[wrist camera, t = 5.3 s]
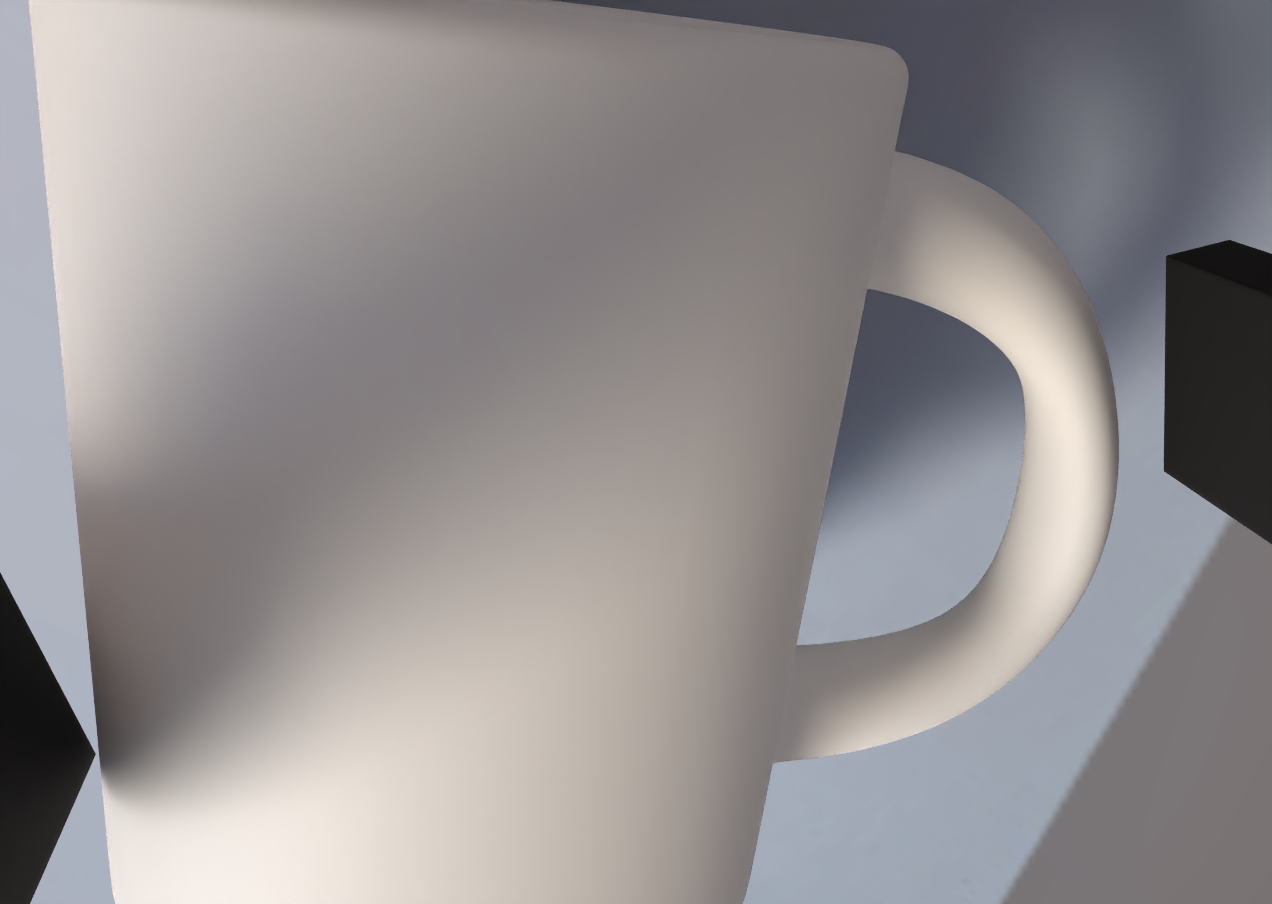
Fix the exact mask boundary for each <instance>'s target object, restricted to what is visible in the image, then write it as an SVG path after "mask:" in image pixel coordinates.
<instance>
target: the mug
mask: <svg viewBox="0 0 1272 904" xmlns="http://www.w3.org/2000/svg"><path fill="white" fill-rule="evenodd" d="M29 9H30V20H31V31H32V41H33V52H34V63H35V73H36V84H37V95H38V105H39V116H40V127H41V137H42V148H43V159H44V170H45V180H46V191H47V202H48V212H49V223H50V234H51V244H52V255H53V266H54V276H55V287H56V298H57V308H58V319H59V330H60V341H61V351H62V362H63V373H64V383H65V394H66V405H67V415H68V426H69V437H70V447H71V458H72V469H73V479H74V490H75V501H76V512H77V522H78V533H79V544H80V554H81V565H82V576H83V586H84V597H85V608H86V618H87V629H88V640H89V650H90V661H91V672H92V682H93V693H94V704H95V715H96V725H97V736H98V747H99V757H100V768H101V779H102V789H103V800H104V811H105V821H106V832H107V843H108V853H109V864H110V874H111V884H112V890H113V896H114V899H115V903H116V904H742V903H743V901H744V898H745V894H746V891H747V887H748V883H749V879H750V875H751V870H752V865H753V860H754V855H755V850H756V845H757V840H758V835H759V830H760V825H761V820H762V815H763V810H764V805H765V800H766V795H767V790H768V785H769V780H770V775H771V770H772V765H773V763H776V762H783V761H792V760H801V759H811V758H819V757H825V756H830V755H836V754H842V753H848V752H854V751H859V750H863V749H867V748H871V747H875V746H878V745H882V744H886V743H890V742H894V741H897V740H900V739H903V738H906V737H909V736H912V735H915V734H917V733H920V732H923V731H925V730H928V729H930V728H933V727H935V726H937V725H939V724H942V723H944V722H946V721H948V720H950V719H952V718H954V717H956V716H958V715H960V714H961V713H963V712H965V711H967V710H969V709H970V708H972V707H974V706H975V705H977V704H978V703H980V702H982V701H983V700H985V699H986V698H988V697H989V696H991V695H992V694H993V693H995V692H996V691H998V690H999V689H1000V688H1002V687H1003V686H1004V685H1005V684H1007V683H1008V682H1009V681H1010V680H1012V679H1013V678H1014V677H1015V676H1016V675H1018V674H1019V673H1020V672H1021V671H1022V670H1023V669H1024V668H1025V667H1026V666H1027V665H1028V664H1029V663H1030V662H1031V661H1032V660H1033V659H1035V658H1036V657H1037V656H1038V654H1039V653H1040V652H1041V651H1042V650H1043V649H1044V648H1045V647H1046V646H1047V645H1048V643H1049V642H1050V641H1051V640H1052V639H1053V638H1054V636H1055V635H1056V634H1057V633H1058V631H1059V630H1060V629H1061V628H1062V626H1063V625H1064V623H1065V622H1066V621H1067V619H1068V618H1069V616H1070V615H1071V613H1072V612H1073V611H1074V609H1075V607H1076V606H1077V604H1078V603H1079V601H1080V599H1081V598H1082V596H1083V594H1084V592H1085V590H1086V589H1087V587H1088V585H1089V583H1090V581H1091V579H1092V577H1093V574H1094V572H1095V570H1096V568H1097V565H1098V563H1099V560H1100V558H1101V555H1102V552H1103V549H1104V546H1105V542H1106V539H1107V536H1108V532H1109V528H1110V524H1111V519H1112V515H1113V509H1114V503H1115V497H1116V489H1117V478H1118V464H1119V435H1118V419H1117V408H1116V399H1115V392H1114V385H1113V380H1112V374H1111V369H1110V364H1109V360H1108V356H1107V352H1106V348H1105V344H1104V340H1103V337H1102V334H1101V331H1100V328H1099V325H1098V322H1097V319H1096V316H1095V314H1094V311H1093V308H1092V306H1091V304H1090V302H1089V299H1088V297H1087V295H1086V293H1085V291H1084V289H1083V287H1082V285H1081V283H1080V281H1079V279H1078V277H1077V276H1076V274H1075V272H1074V270H1073V269H1072V267H1071V265H1070V264H1069V262H1068V261H1067V259H1066V258H1065V256H1064V255H1063V254H1062V252H1061V251H1060V250H1059V248H1058V247H1057V246H1056V244H1055V243H1054V242H1053V241H1052V239H1051V238H1050V237H1049V236H1048V235H1047V234H1046V233H1045V232H1044V231H1043V229H1042V228H1041V227H1040V226H1039V225H1038V224H1037V223H1036V222H1035V221H1034V220H1032V219H1031V218H1030V217H1029V216H1028V215H1027V214H1026V213H1024V212H1023V211H1022V210H1021V209H1020V208H1019V207H1017V206H1016V205H1015V204H1013V203H1012V202H1011V201H1009V200H1008V199H1006V198H1005V197H1004V196H1002V195H1001V194H999V193H997V192H996V191H994V190H993V189H991V188H989V187H988V186H986V185H984V184H982V183H980V182H978V181H975V180H973V179H971V178H969V177H967V176H965V175H963V174H961V173H959V172H957V171H955V170H953V169H950V168H947V167H944V166H941V165H939V164H936V163H933V162H930V161H927V160H924V159H921V158H919V157H916V156H912V155H908V154H904V153H900V152H897V151H895V148H896V143H897V138H898V133H899V128H900V123H901V118H902V113H903V108H904V103H905V98H906V93H907V88H908V81H909V76H908V69H907V66H906V64H905V62H904V60H903V59H902V57H901V56H900V55H899V54H898V53H897V52H895V51H894V50H892V49H890V48H888V47H885V46H881V45H877V44H871V43H866V42H860V41H854V40H847V39H841V38H834V37H827V36H820V35H813V34H806V33H799V32H792V31H785V30H777V29H770V28H763V27H755V26H748V25H740V24H733V23H725V22H718V21H710V20H702V19H695V18H687V17H679V16H672V15H664V14H656V13H648V12H640V11H632V10H624V9H617V8H609V7H601V6H593V5H585V4H577V3H569V2H560V1H552V0H29ZM867 289H874V290H878V291H882V292H885V293H889V294H893V295H897V296H901V297H904V298H908V299H911V300H914V301H916V302H919V303H922V304H925V305H928V306H930V307H933V308H935V309H938V310H940V311H942V312H944V313H946V314H949V315H951V316H953V317H955V318H957V319H959V320H960V321H962V322H964V323H966V324H968V325H969V326H971V327H972V328H974V329H975V330H977V331H978V332H980V333H981V334H983V335H984V336H985V337H987V338H988V339H989V340H990V341H992V342H993V343H994V344H995V345H996V346H997V347H998V348H999V349H1000V350H1001V351H1002V352H1003V353H1004V354H1005V355H1006V356H1007V357H1008V359H1009V360H1010V361H1011V363H1012V364H1013V366H1014V367H1015V369H1016V371H1017V373H1018V375H1019V378H1020V381H1021V384H1022V388H1023V393H1024V401H1025V437H1024V446H1023V456H1022V463H1021V469H1020V475H1019V480H1018V485H1017V490H1016V495H1015V499H1014V503H1013V507H1012V511H1011V515H1010V518H1009V521H1008V524H1007V527H1006V530H1005V533H1004V536H1003V539H1002V541H1001V544H1000V546H999V549H998V551H997V553H996V555H995V557H994V559H993V561H992V563H991V565H990V566H989V568H988V570H987V571H986V573H985V574H984V576H983V577H982V579H981V580H980V581H979V583H978V584H977V585H976V587H975V588H974V589H973V590H972V591H971V592H970V593H969V594H968V595H967V596H966V597H965V598H964V599H963V600H962V601H960V602H959V603H958V604H957V605H955V606H954V607H953V608H951V609H950V610H948V611H947V612H945V613H943V614H941V615H940V616H938V617H936V618H934V619H931V620H929V621H927V622H925V623H922V624H920V625H917V626H914V627H911V628H908V629H904V630H901V631H897V632H893V633H888V634H884V635H880V636H875V637H869V638H863V639H857V640H851V641H842V642H833V643H824V644H811V645H796V644H797V639H798V634H799V629H800V624H801V619H802V614H803V609H804V604H805V599H806V594H807V589H808V584H809V579H810V574H811V569H812V564H813V559H814V554H815V549H816V544H817V539H818V534H819V529H820V524H821V519H822V514H823V509H824V504H825V499H826V494H827V489H828V484H829V479H830V474H831V469H832V464H833V459H834V454H835V449H836V444H837V439H838V434H839V429H840V424H841V419H842V414H843V409H844V404H845V399H846V393H847V388H848V383H849V378H850V373H851V368H852V363H853V358H854V353H855V348H856V343H857V338H858V333H859V328H860V323H861V318H862V313H863V308H864V303H865V298H866V293H867Z"/></svg>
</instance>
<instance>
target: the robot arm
mask: <svg viewBox="0 0 1272 904" xmlns="http://www.w3.org/2000/svg"><path fill="white" fill-rule="evenodd" d="M1164 471H1165V472H1166V473H1167V474H1169V475H1170V476H1172V477H1173V478H1175V479H1176V480H1178V481H1179V482H1181V483H1182V484H1184V485H1185V486H1187V487H1188V488H1190V489H1191V490H1193V491H1194V492H1196V493H1197V494H1198V495H1200V496H1201V497H1203V498H1204V499H1206V500H1207V501H1209V502H1210V503H1212V504H1213V505H1215V506H1216V507H1218V508H1219V509H1221V510H1222V511H1224V512H1225V513H1227V514H1228V515H1229V516H1231V517H1232V518H1234V519H1236V520H1237V521H1238V522H1240V523H1241V524H1243V525H1244V526H1246V527H1247V528H1249V529H1250V530H1252V531H1253V532H1255V533H1256V534H1258V535H1259V536H1261V537H1262V538H1263V539H1265V540H1267V541H1268V542H1269V543H1271V544H1272V254H1271V253H1267V252H1264V251H1261V250H1258V249H1255V248H1252V247H1249V246H1246V245H1243V244H1240V243H1237V242H1234V241H1231V240H1227V241H1223V242H1219V243H1215V244H1211V245H1207V246H1203V247H1199V248H1195V249H1191V250H1187V251H1183V252H1179V253H1175V254H1171V255H1167V256H1166V320H1165V415H1164ZM95 755H96V754H95V752H94V750H93V748H92V746H91V744H90V742H89V740H88V739H87V737H86V735H85V733H84V731H83V729H82V727H81V725H80V723H79V721H78V720H77V718H76V716H75V714H74V712H73V710H72V708H71V706H70V704H69V702H68V701H67V699H66V697H65V695H64V693H63V691H62V689H61V687H60V685H59V683H58V681H57V680H56V678H55V676H54V674H53V672H52V670H51V668H50V666H49V664H48V662H47V661H46V659H45V657H44V655H43V653H42V651H41V649H40V647H39V645H38V643H37V642H36V640H35V638H34V636H33V634H32V632H31V630H30V628H29V626H28V624H27V623H26V621H25V619H24V617H23V615H22V613H21V611H20V609H19V607H18V605H17V604H16V602H15V600H14V598H13V596H12V594H11V592H10V590H9V588H8V586H7V584H6V583H5V581H4V579H3V577H2V575H1V573H0V904H30V902H31V900H32V898H33V895H34V893H35V891H36V889H37V886H38V884H39V882H40V880H41V877H42V875H43V873H44V870H45V868H46V866H47V864H48V861H49V859H50V857H51V855H52V852H53V850H54V848H55V846H56V843H57V841H58V839H59V836H60V834H61V832H62V830H63V827H64V825H65V823H66V821H67V818H68V816H69V814H70V811H71V809H72V807H73V805H74V802H75V800H76V798H77V796H78V793H79V791H80V789H81V786H82V784H83V782H84V780H85V777H86V775H87V773H88V771H89V768H90V766H91V764H92V761H93V759H94V757H95Z"/></svg>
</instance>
